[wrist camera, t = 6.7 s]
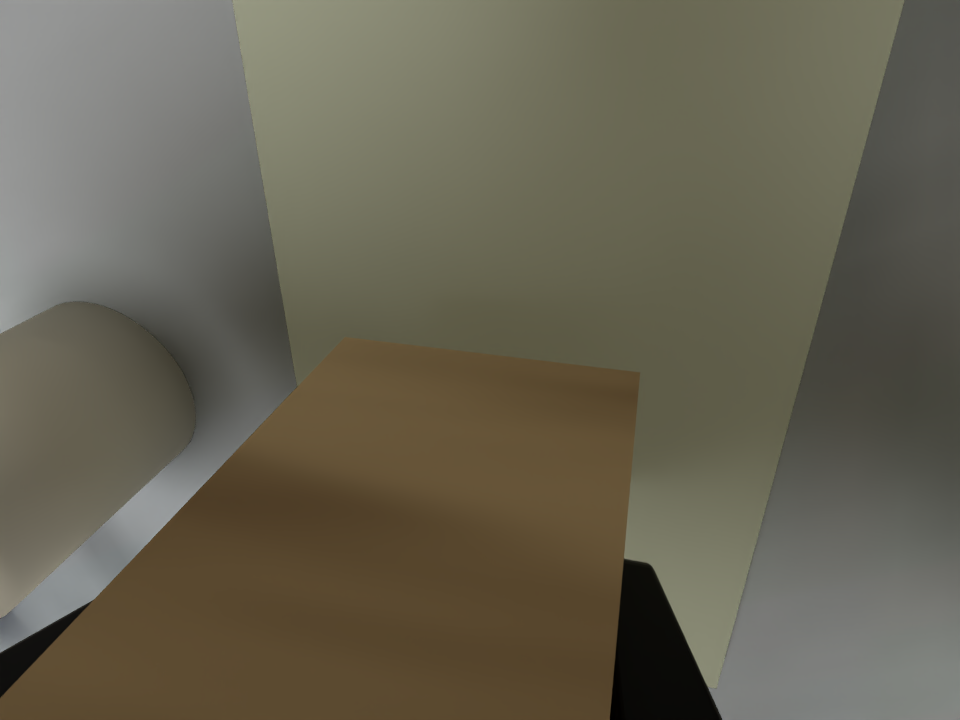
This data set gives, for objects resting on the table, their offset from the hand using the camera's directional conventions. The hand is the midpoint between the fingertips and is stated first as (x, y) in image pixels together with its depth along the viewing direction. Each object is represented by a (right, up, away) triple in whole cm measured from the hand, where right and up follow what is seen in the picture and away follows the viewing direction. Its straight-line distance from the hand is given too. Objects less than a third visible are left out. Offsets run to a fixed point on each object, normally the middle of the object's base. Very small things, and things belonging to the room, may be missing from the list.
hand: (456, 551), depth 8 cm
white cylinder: (-8, +2, +7) cm, 11 cm away
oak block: (0, +1, +1) cm, 2 cm away
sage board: (+1, +2, +4) cm, 5 cm away
